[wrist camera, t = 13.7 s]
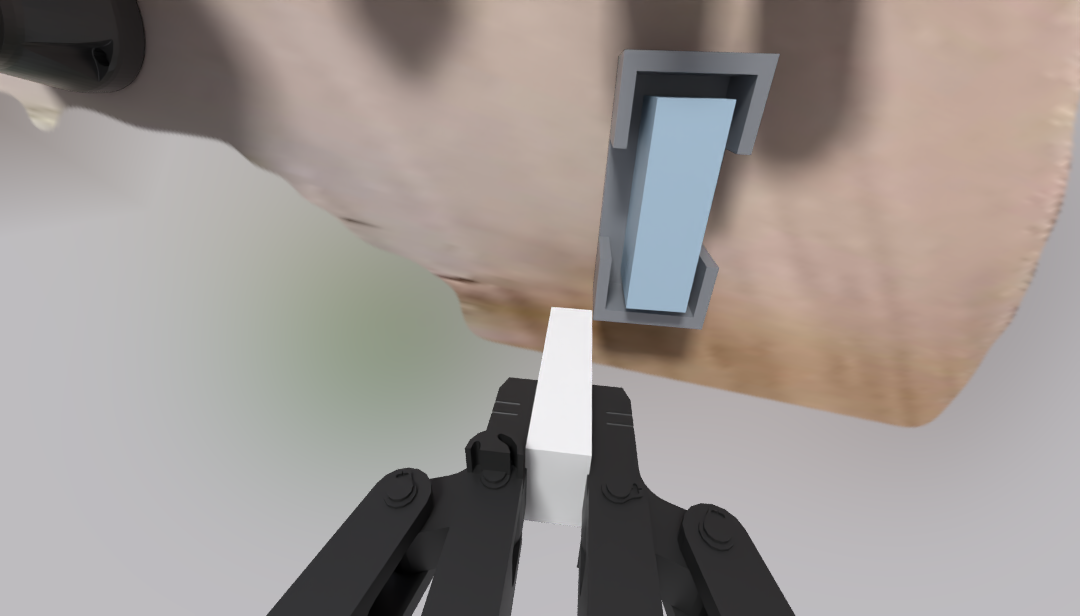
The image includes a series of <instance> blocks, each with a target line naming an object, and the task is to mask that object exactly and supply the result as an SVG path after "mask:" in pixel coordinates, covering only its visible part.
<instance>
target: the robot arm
mask: <svg viewBox="0 0 1080 616" xmlns="http://www.w3.org/2000/svg"><path fill="white" fill-rule="evenodd" d="M143 56H144V32H143V26H142V21H141V17H140V13H139V9H138V6H137V3H136V0H0V73H3V74H7V75H10V76H14V77H18V78H22V79H25V80H29V81H33V82H37V83H40V84H44V85H48V86H52V87H55V88H59V89H63V90H68V91H74V92H113V91H117V90H120V89H122V88H124V87H126V86H127V85H129V84H130V83H131V82H132V81H133V80H134V79H135V77H136V76H137V74H138V72H139V70H140V68H141V65H142V61H143ZM465 453H466V463H467V468H466V469H465V470H463V471H461V472H459V473H457V474H453V475H449V476H444V477H438V478H433V479H429V478H428V476H427V474H425V473H424V472H422V471H421V470H419V469H414V468H404V469H398V470H396V471H394V472H392V473H389V474H387V475H386V476H384V478H382V479H381V480H380V481H379V482H378V483H377V484H376V485H375V486H374V487H373V489H372V490H371V491H370V492H369V493H368V495H367V496H366V497H365V498H364V499H363V501H362V502H361V503H360V504H359V505H358V507H357V508H356V509H355V510H354V511H353V513H352V514H351V515H350V516H349V517H348V519H347V520H346V521H345V522H344V523H343V524H342V526H341V527H340V528H339V529H338V530H337V532H336V533H335V534H334V535H333V537H332V538H331V539H330V540H329V541H328V542H327V544H326V545H325V546H324V547H323V548H322V550H321V551H320V552H319V553H318V554H317V556H316V557H315V558H314V559H313V560H312V562H311V563H310V564H309V565H308V567H307V568H306V569H305V570H304V571H303V572H302V574H301V575H300V576H299V577H298V578H297V580H296V581H295V582H294V583H293V584H292V586H291V587H290V588H289V589H288V590H287V592H286V593H285V594H284V595H283V596H282V598H281V599H280V600H279V601H278V602H277V603H276V605H275V606H274V607H273V608H272V610H271V611H270V612H269V613H268V614H267V616H412V614H413V612H414V610H415V609H416V607H417V605H418V603H419V601H420V600H421V598H422V596H423V594H424V592H425V591H426V589H427V587H428V585H429V584H430V582H431V580H432V578H433V581H432V584H431V587H430V590H429V593H428V596H427V599H426V602H425V605H424V608H423V612H422V615H421V616H511V610H512V604H513V597H514V590H515V584H516V578H517V570H518V564H519V557H520V551H521V545H522V528H523V521H524V520H529V521H538V522H544V523H552V524H559V525H567V526H574V527H582V529H581V544H580V551H579V557H578V565H577V567H578V568H579V582H578V584H579V585H578V614H577V615H578V616H663V609H662V602H663V605H664V608H665V611H666V614H667V616H795V614H794V612H793V611H792V609H791V607H790V606H789V604H788V602H787V600H786V599H785V597H784V595H783V594H782V592H781V590H780V588H779V587H778V585H777V583H776V582H775V580H774V578H773V576H772V575H771V573H770V571H769V569H768V568H767V566H766V564H765V563H764V561H763V560H762V557H761V556H760V554H759V552H758V551H757V549H756V547H755V545H754V544H753V542H752V540H751V538H750V537H749V535H748V533H747V532H746V530H745V529H744V527H743V526H742V525H741V523H740V522H739V521H738V520H737V519H736V518H735V517H734V516H733V515H731V514H730V513H729V512H728V511H726V510H725V509H722V508H720V507H718V506H715V505H713V504H702V503H700V504H697V505H694V506H691V507H690V508H689V509H688V510H685V509H683V508H680V507H678V506H676V505H673V504H671V503H669V502H667V501H664V500H663V499H661V498H659V497H658V496H656V495H655V494H654V493H653V492H651V491H650V490H649V488H647V486H646V485H645V484H644V482H643V480H642V478H641V476H640V473H639V467H638V459H637V451H636V442H635V434H634V428H633V418H632V410H631V401H630V399H629V397H628V396H627V394H626V393H625V391H624V390H623V388H618V387H608V386H598V385H592V310H581V309H570V308H558V307H552V308H551V313H550V319H549V324H548V330H547V335H546V340H545V346H544V351H543V357H542V362H541V367H540V373H539V378H538V380H530V379H519V378H508V380H506V382H505V383H504V384H503V385H502V386H501V387H500V388H499V391H498V394H497V398H496V402H495V404H494V407H493V411H492V414H491V417H490V420H489V424H488V427H487V430H486V431H483V432H480V433H478V434H477V435H476V436H474V437H473V438H472V439H470V441H469V443H468V444H467V446H466V448H465ZM433 576H434V577H433ZM661 600H662V601H661Z"/></svg>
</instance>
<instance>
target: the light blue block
mask: <svg viewBox="0 0 1080 616" xmlns="http://www.w3.org/2000/svg"><path fill="white" fill-rule="evenodd" d="M735 104H736V100H735V99H724V98H713V97H690V96H651V95H644V98H643V105H642V113H641V120H640V128H639V135H638V143H637V150H636V158H635V165H634V173H633V180H632V187H631V195H630V202H629V210H628V217H627V225H626V232H625V240H624V247H623V254H622V262H621V269H620V271H621V278H622V285H623V291H624V298H625V304H626V308H630V309H643V310H657V311H670V312H684V313H686V309H687V305H688V300H689V296H690V292H691V288H692V284H693V280H694V275H695V271H696V267H697V263H698V259H699V254H700V250H701V246H702V242H703V238H704V234H705V229H706V225H707V221H708V217H709V213H710V208H711V204H712V200H713V196H714V192H715V188H716V183H717V179H718V175H719V171H720V167H721V162H722V158H723V154H724V150H725V146H726V142H727V137H728V133H729V129H730V125H731V121H732V116H733V112H734V108H735Z"/></svg>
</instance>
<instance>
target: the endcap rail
mask: <svg viewBox="0 0 1080 616" xmlns="http://www.w3.org/2000/svg"><path fill="white" fill-rule="evenodd" d="M779 55H780V54H768V53H733V52H698V51H662V50H627V49H625V50H624V51H623V52H622V53H621V54H620V55H619V58H618V67H617V76H616V85H615V94H614V103H613V112H612V121H611V130H610V139H609V148H608V157H607V166H606V175H605V184H604V193H603V202H602V211H601V220H600V229H599V238H598V247H597V255H596V264H595V273H594V282H593V320H599V321H611V322H622V323H634V324H645V325H656V326H668V327H679V328H691V329H702V326H703V323H704V319H705V316H706V312H707V309H708V305H709V302H710V298H711V295H712V291H713V287H714V284H715V280H716V277H717V273H718V270H719V267H718V266H717V264H716V263H715V261H714V260H713V259H712V257H711V256H710V254H709V253H708V251H707V250H706V249H705V247H704V246H703V244H702V246H701V250H700V254H699V259H698V263H697V267H696V271H695V275H694V280H693V284H692V288H691V292H690V296H689V300H688V305H687V309H686V313H684V312H670V311H657V310H643V309H630V308H626V304H625V298H624V291H623V285H622V278H621V271H620V269H621V262H622V254H623V247H624V240H625V232H626V225H627V217H628V210H629V202H630V195H631V187H632V180H633V173H634V165H635V158H636V150H637V143H638V135H639V128H640V120H641V113H642V105H643V98H644V95H651V96H690V97H713V98H724V99H735V100H736V104H735V108H734V112H733V116H732V121H731V125H730V129H729V133H728V137H727V142H726V146H725V149H727V150H729V151H731V152H733V153H735V154H743V155H751V154H752V150H753V147H754V143H755V139H756V136H757V132H758V129H759V125H760V122H761V118H762V115H763V111H764V108H765V104H766V101H767V97H768V94H769V90H770V87H771V83H772V80H773V76H774V73H775V69H776V65H777V62H778V58H779ZM724 153H725V150H724ZM723 157H724V154H723ZM722 161H723V158H722ZM721 165H722V162H721ZM720 169H721V167H720ZM719 173H720V171H719ZM718 177H719V175H718ZM717 181H718V179H717ZM716 185H717V183H716ZM715 189H716V188H715ZM714 193H715V192H714ZM713 197H714V196H713ZM712 201H713V200H712ZM711 205H712V204H711ZM710 209H711V208H710Z"/></svg>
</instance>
